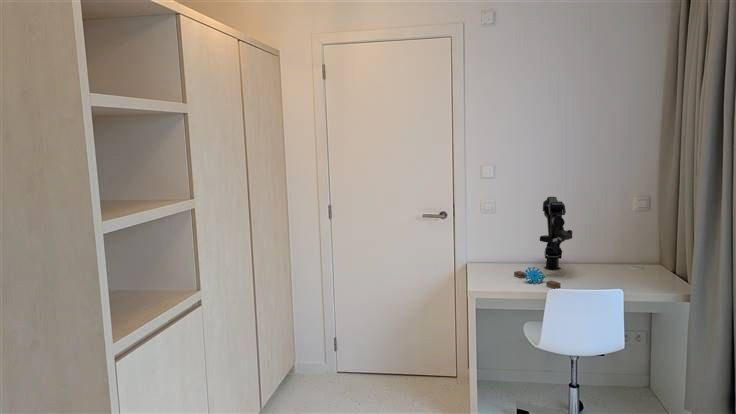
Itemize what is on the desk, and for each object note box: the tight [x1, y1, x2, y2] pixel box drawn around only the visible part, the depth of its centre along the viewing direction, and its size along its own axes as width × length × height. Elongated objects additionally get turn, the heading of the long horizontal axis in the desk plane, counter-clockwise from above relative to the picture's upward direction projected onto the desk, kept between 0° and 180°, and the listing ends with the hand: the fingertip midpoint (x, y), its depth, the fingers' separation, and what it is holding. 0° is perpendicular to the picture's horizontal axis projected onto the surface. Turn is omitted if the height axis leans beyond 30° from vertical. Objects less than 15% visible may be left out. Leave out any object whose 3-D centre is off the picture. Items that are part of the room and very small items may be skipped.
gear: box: [524, 266, 547, 285], centre depth 286 cm, size 11×6×10 cm
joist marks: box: [513, 270, 561, 289], centre depth 286 cm, size 4×29×2 cm, turn 27°
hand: (555, 252), depth 297 cm, fingers closed
